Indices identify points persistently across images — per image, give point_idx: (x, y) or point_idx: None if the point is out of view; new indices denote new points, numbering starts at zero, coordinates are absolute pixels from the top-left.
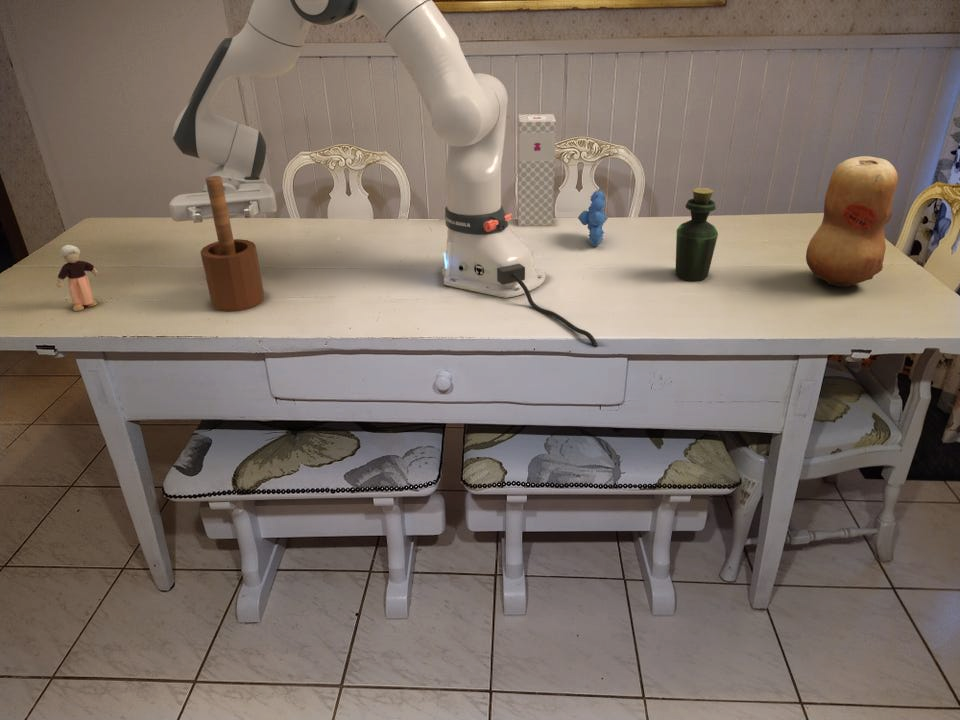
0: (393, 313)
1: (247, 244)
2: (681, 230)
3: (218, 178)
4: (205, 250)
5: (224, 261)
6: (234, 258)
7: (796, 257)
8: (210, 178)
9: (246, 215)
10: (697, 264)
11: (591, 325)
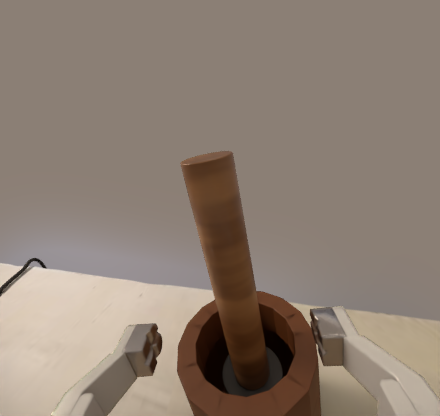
0: (84, 317)
1: (194, 355)
2: None
3: (192, 158)
4: (301, 337)
5: None
6: None
7: None
8: (215, 154)
9: (155, 335)
10: None
11: (5, 278)
